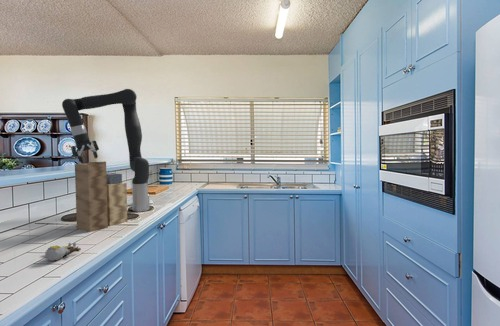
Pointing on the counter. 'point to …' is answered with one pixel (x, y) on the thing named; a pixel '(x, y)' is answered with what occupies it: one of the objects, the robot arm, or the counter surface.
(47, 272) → the counter surface
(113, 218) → the tan wooden block
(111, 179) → the bar
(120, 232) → the counter surface
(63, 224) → the counter surface
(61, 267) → the counter surface
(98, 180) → the stand
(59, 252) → the toy
